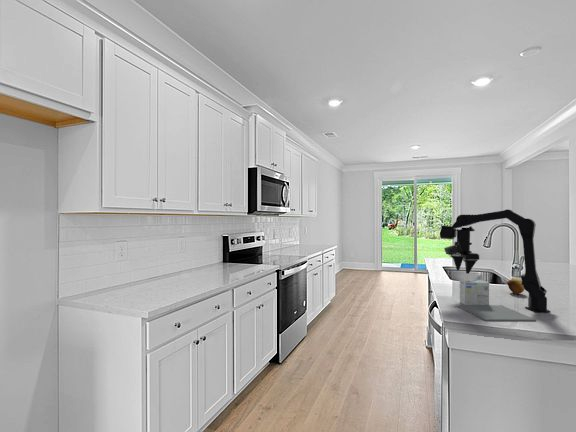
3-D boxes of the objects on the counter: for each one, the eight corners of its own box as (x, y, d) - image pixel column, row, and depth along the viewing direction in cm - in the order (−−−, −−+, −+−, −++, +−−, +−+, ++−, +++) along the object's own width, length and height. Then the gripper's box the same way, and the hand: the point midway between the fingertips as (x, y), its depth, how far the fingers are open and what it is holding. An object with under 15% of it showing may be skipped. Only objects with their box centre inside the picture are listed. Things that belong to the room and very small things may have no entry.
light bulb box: (482, 302, 155) (482, 279, 155) (489, 306, 149) (490, 282, 149) (458, 301, 156) (458, 278, 156) (464, 305, 150) (465, 281, 150)
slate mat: (535, 321, 128) (536, 319, 128) (485, 320, 128) (485, 319, 128) (501, 306, 148) (501, 305, 148) (457, 306, 148) (457, 305, 148)
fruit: (517, 296, 168) (517, 280, 168) (502, 292, 176) (503, 277, 176) (528, 295, 170) (529, 279, 170) (513, 291, 178) (514, 276, 178)
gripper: (438, 238, 171) (437, 268, 172) (456, 241, 153) (455, 275, 153) (460, 238, 171) (459, 268, 172) (480, 241, 153) (479, 275, 153)
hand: (462, 271), depth 162 cm, fingers open, 9 cm apart
